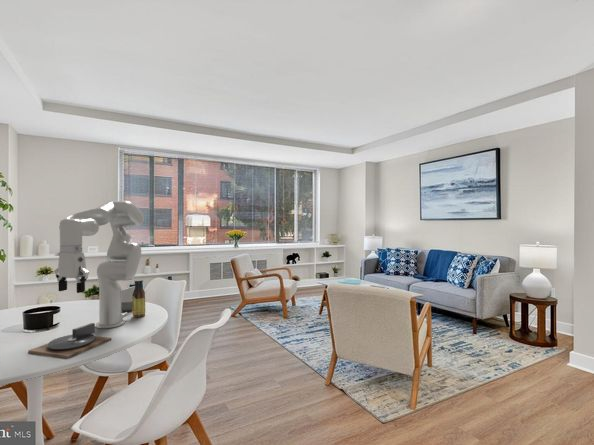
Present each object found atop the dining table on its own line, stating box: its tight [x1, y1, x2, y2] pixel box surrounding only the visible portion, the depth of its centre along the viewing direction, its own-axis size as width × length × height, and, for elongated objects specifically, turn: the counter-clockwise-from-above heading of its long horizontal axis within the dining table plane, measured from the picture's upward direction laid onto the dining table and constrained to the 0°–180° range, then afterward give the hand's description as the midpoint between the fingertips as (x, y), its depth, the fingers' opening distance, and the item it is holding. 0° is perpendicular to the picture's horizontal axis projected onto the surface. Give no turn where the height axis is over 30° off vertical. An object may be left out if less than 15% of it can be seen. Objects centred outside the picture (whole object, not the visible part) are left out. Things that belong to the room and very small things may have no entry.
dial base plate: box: [27, 335, 112, 359], centre depth 135 cm, size 20×20×1 cm
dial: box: [47, 322, 96, 351], centre depth 136 cm, size 18×16×5 cm
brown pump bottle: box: [132, 279, 146, 318], centre depth 178 cm, size 6×6×20 cm
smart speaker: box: [121, 285, 135, 312], centre depth 190 cm, size 10×9×14 cm
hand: (71, 291), depth 133 cm, fingers open, 9 cm apart
